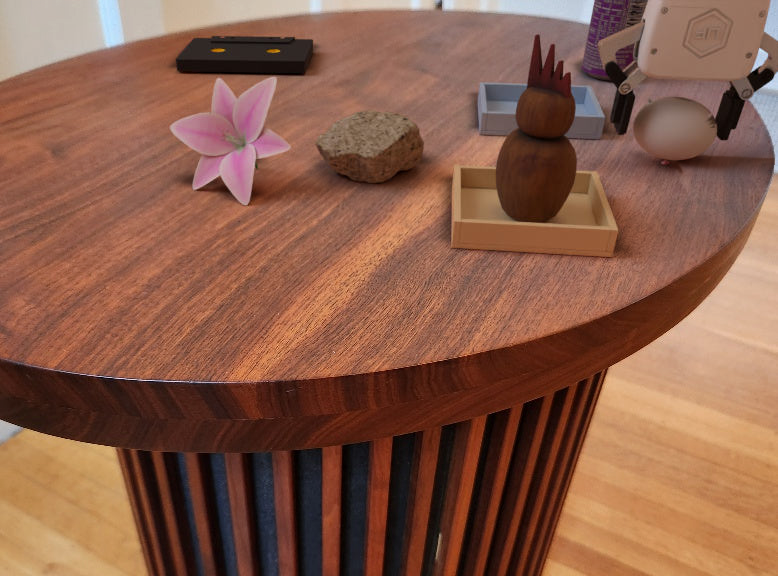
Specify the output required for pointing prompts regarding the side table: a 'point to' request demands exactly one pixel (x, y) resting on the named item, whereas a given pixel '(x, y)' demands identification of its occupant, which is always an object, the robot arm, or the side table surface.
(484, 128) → the blue tray
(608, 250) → the birch tray
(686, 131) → the beige smooth oval piece
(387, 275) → the side table surface
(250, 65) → the cassette tape
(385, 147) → the rock
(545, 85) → the wooden figurine
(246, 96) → the lily
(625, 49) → the beverage can
